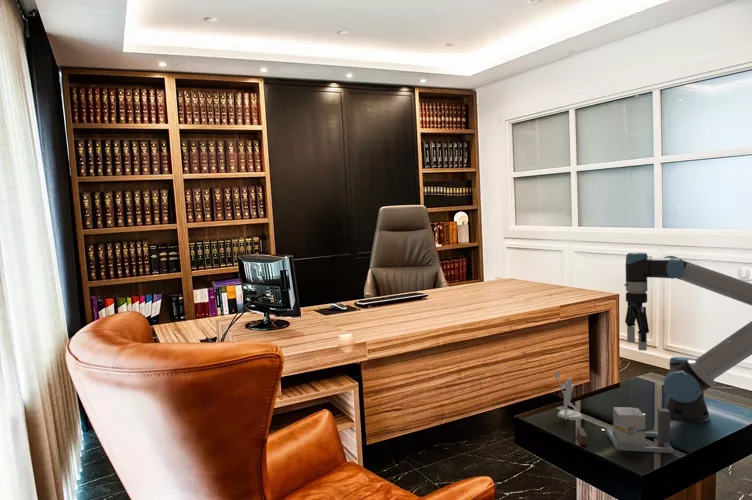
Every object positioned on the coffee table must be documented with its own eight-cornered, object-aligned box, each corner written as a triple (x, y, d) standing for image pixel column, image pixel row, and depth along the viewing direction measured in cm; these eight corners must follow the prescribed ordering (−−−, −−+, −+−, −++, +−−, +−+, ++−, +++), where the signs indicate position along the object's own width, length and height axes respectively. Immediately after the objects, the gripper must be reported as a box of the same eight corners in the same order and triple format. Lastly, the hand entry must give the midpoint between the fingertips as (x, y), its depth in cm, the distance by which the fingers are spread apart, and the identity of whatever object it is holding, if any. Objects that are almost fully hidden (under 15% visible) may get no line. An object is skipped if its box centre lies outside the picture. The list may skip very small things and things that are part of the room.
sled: (661, 436, 184) (661, 403, 184) (676, 453, 170) (676, 417, 170) (606, 433, 188) (606, 400, 187) (616, 449, 174) (616, 415, 173)
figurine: (552, 412, 210) (552, 369, 210) (573, 410, 212) (573, 367, 211) (565, 421, 201) (565, 375, 200) (587, 419, 202) (587, 373, 202)
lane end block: (582, 435, 187) (582, 427, 186) (587, 444, 179) (587, 436, 179) (576, 435, 187) (576, 427, 187) (581, 444, 179) (581, 435, 179)
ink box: (612, 438, 184) (612, 406, 183) (638, 439, 182) (638, 407, 182) (619, 448, 175) (619, 414, 175) (645, 449, 174) (645, 415, 173)
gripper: (616, 288, 213) (617, 339, 214) (636, 296, 188) (636, 353, 189) (636, 288, 212) (636, 339, 213) (658, 296, 187) (658, 353, 188)
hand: (636, 346), depth 201 cm, fingers open, 13 cm apart
